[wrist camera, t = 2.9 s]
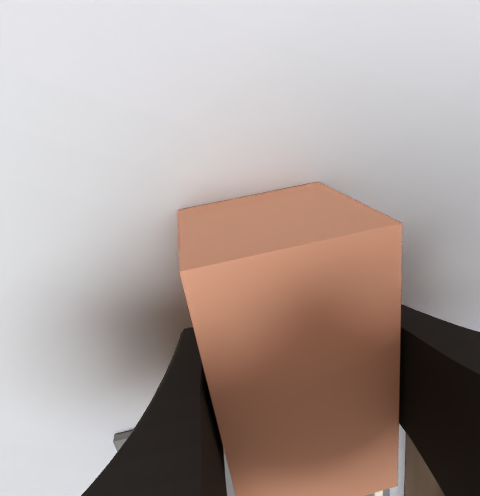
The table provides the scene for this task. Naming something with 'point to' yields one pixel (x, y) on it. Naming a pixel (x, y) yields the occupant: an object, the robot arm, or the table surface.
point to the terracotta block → (298, 337)
